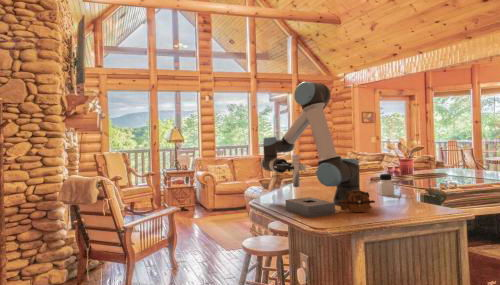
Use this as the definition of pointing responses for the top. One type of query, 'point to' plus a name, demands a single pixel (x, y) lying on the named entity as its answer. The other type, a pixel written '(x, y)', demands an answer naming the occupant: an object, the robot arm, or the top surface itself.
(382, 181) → the medicine bottle
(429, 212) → the top surface
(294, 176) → the pin
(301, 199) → the pin block
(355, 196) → the wooden carving
